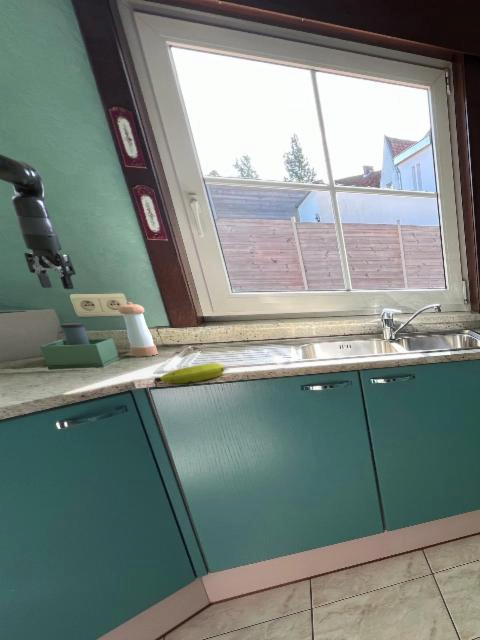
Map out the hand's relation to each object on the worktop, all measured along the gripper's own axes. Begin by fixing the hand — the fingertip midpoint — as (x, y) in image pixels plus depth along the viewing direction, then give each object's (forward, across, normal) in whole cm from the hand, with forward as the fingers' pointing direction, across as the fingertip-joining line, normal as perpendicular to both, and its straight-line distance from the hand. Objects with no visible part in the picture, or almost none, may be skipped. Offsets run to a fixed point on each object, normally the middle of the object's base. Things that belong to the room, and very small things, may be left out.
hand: (58, 288), depth 157 cm
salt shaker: (+25, +2, +18) cm, 31 cm away
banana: (+25, +49, -5) cm, 55 cm away
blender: (+24, 0, 0) cm, 24 cm away
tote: (+25, 0, 0) cm, 25 cm away
